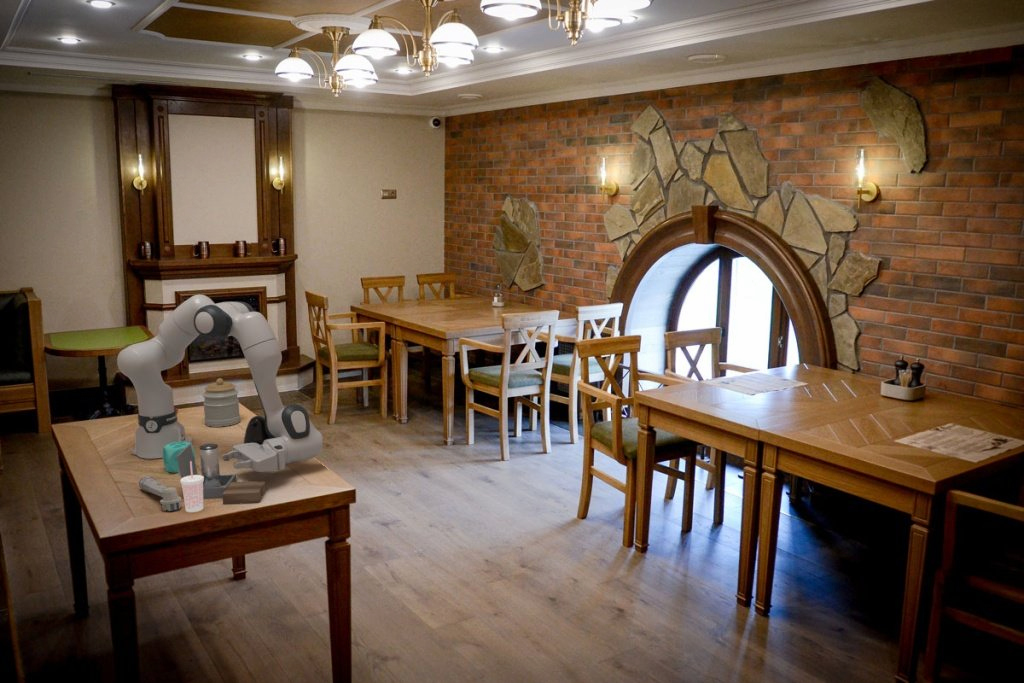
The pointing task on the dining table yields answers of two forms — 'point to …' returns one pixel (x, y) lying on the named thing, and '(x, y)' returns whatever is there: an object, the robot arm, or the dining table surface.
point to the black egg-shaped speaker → (256, 431)
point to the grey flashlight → (162, 493)
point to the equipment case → (184, 471)
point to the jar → (221, 404)
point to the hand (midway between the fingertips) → (228, 462)
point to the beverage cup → (193, 491)
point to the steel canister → (210, 465)
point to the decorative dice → (174, 455)
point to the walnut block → (244, 492)
